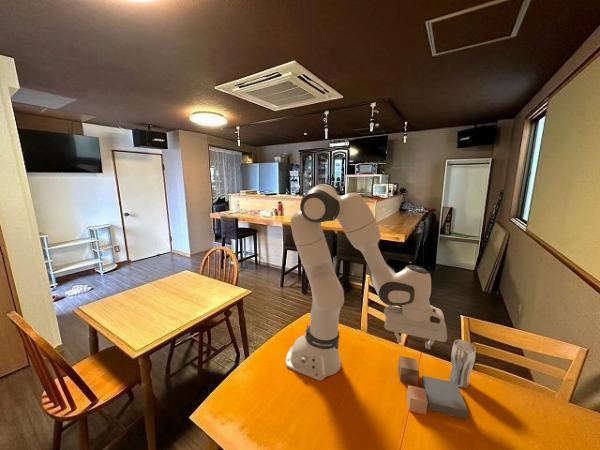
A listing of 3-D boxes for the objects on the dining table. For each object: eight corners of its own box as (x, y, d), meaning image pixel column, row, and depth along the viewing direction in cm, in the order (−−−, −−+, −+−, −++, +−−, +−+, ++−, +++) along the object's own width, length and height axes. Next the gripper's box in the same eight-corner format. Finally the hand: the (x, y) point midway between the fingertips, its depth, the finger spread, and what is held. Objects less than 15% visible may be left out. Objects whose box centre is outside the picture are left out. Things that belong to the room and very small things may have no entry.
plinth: (428, 409, 78) (429, 402, 77) (421, 382, 88) (422, 375, 87) (467, 419, 74) (468, 411, 74) (455, 389, 85) (456, 382, 84)
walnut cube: (399, 381, 89) (401, 367, 87) (398, 369, 94) (399, 355, 93) (417, 385, 87) (419, 370, 86) (414, 372, 93) (416, 359, 91)
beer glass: (474, 391, 84) (480, 354, 81) (452, 387, 86) (458, 351, 83) (465, 375, 91) (470, 340, 88) (445, 372, 92) (449, 338, 89)
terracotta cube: (409, 410, 77) (410, 398, 76) (406, 397, 82) (408, 385, 81) (426, 415, 76) (427, 402, 75) (422, 401, 81) (424, 388, 80)
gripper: (383, 309, 86) (382, 343, 89) (449, 321, 78) (446, 358, 80) (385, 300, 92) (383, 332, 94) (446, 311, 83) (443, 345, 86)
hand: (413, 344), depth 87 cm, fingers open, 8 cm apart
